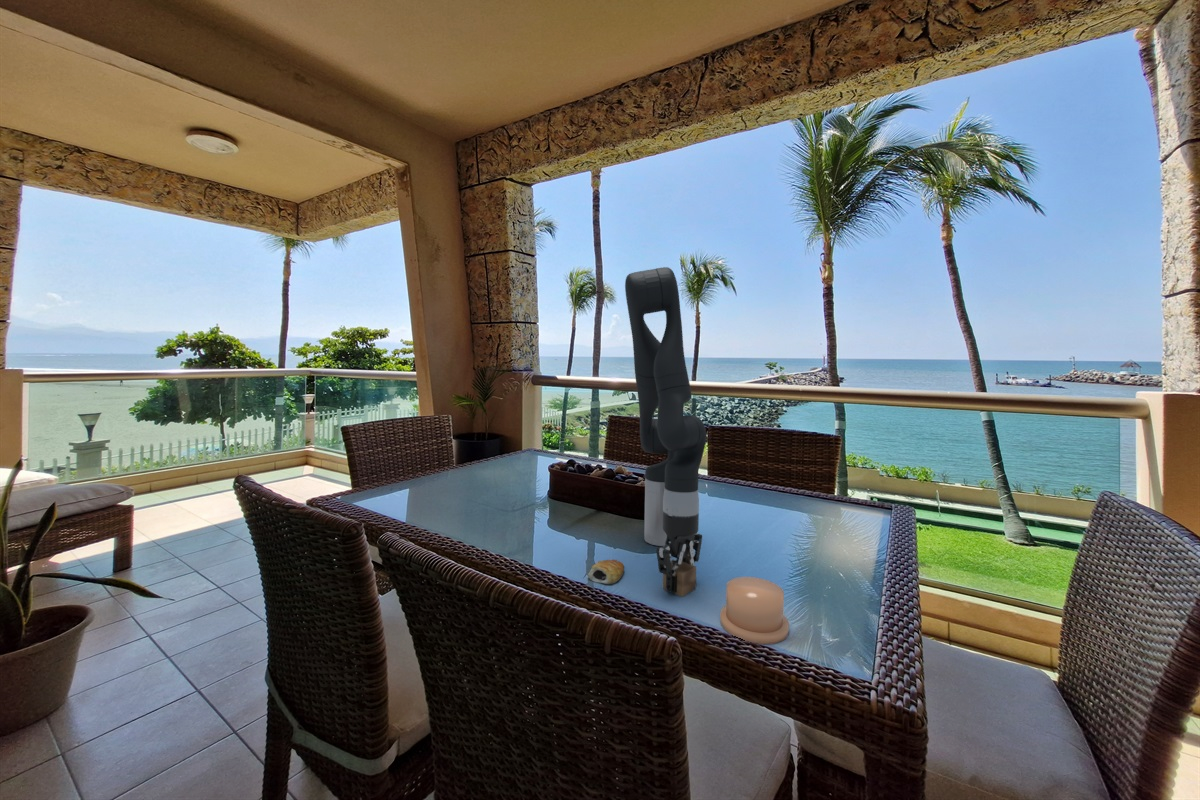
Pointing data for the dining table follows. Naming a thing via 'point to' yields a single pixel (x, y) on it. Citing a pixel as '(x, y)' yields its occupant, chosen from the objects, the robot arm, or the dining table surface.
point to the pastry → (606, 571)
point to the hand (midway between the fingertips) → (679, 586)
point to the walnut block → (684, 579)
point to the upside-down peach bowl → (755, 611)
